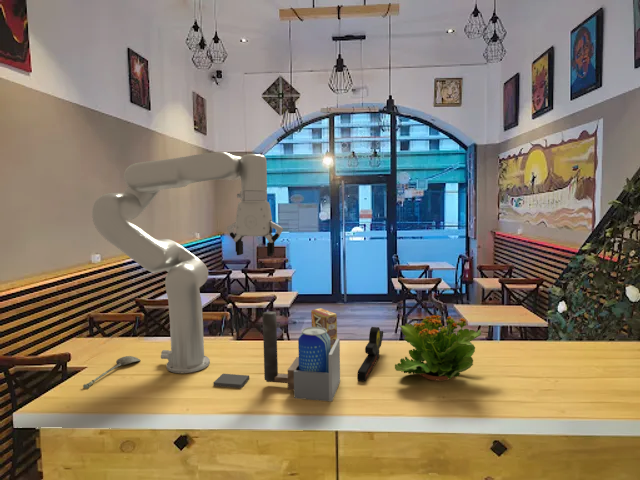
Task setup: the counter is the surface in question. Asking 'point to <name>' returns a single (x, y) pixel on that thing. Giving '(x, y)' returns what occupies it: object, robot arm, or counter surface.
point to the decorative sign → (370, 353)
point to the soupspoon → (120, 362)
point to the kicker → (275, 353)
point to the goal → (319, 379)
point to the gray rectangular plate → (231, 380)
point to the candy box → (325, 322)
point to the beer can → (314, 350)
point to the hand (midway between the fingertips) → (254, 255)
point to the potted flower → (438, 348)
